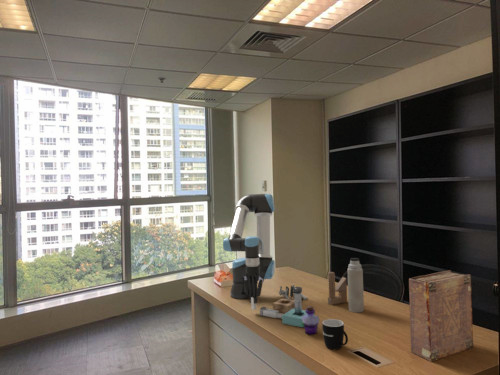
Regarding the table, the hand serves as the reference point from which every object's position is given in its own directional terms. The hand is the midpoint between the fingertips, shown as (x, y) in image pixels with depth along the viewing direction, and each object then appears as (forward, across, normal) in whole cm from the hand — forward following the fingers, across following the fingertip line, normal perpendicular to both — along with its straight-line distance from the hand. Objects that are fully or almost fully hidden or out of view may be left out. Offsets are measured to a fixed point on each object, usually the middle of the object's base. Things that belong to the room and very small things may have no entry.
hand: (253, 309), depth 203 cm
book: (+3, +91, -2) cm, 91 cm away
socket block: (+3, +26, 0) cm, 27 cm away
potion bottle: (+3, +37, -10) cm, 39 cm away
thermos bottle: (+3, +46, +30) cm, 55 cm away
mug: (+3, +53, -20) cm, 57 cm away
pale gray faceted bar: (+2, +12, 0) cm, 12 cm away
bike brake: (+3, +8, +33) cm, 34 cm away
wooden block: (+2, +33, +37) cm, 50 cm away
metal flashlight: (+3, +26, 0) cm, 27 cm away
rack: (+2, +13, +11) cm, 18 cm away
